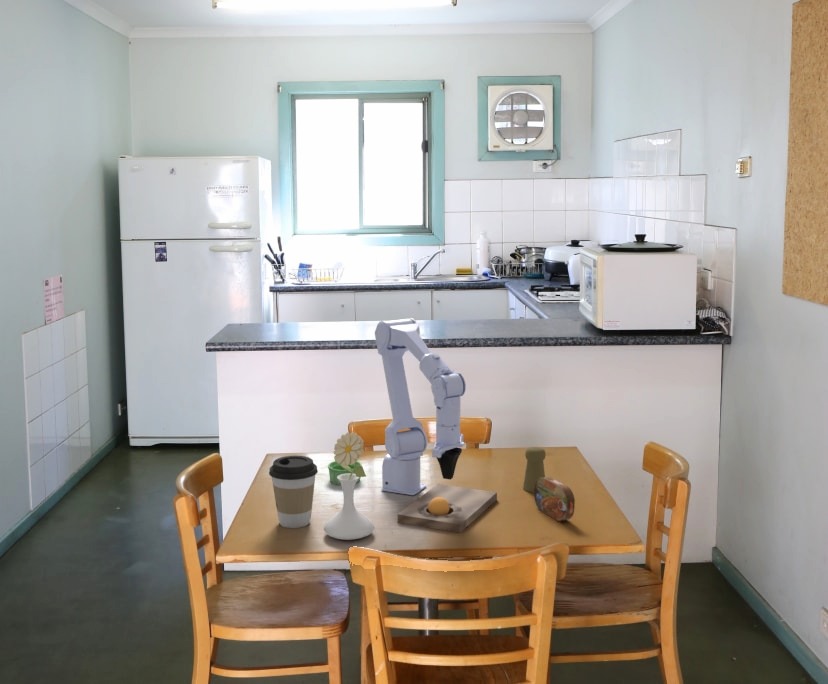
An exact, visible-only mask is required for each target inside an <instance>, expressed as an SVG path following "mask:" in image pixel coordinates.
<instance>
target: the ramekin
mask: <svg viewBox="0 0 828 684" xmlns="http://www.w3.org/2000/svg"><path fill="white" fill-rule="evenodd" d="M360 465H361V466H362V467H363V464H362V462H360V461H358V460H357V462H356V467H357V466H360ZM348 466H349V467H350V468H351V471H353V469H354V467H355V463H354V464H352V465H350V464H349V465H348ZM327 469H328V474H329V482H331V483H332V484H335V485H339V486H342V485H341V483H340V481H339V480H338V479H337V476H339V475H341V474H348V473H350V474H351V473H352V472H349V471H348V470H346V469H344V468H343V467H342V466H341V465H340V463H339V464H338V463H337V461H335V460H334V461H331V462H330V463H328V464H327ZM353 474H355V470H354V472H353ZM360 481H361V477H359V479H358V480H357V482H356V484H357V483H358V482H360Z"/></svg>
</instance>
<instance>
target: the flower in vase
mask: <svg viewBox="0 0 828 684" xmlns="http://www.w3.org/2000/svg"><path fill="white" fill-rule="evenodd" d="M364 445H365V444H364V439H362V437H361V436H360V435H358V433H356V432H354V431H352V432H350V433H349V432H346V433H345V434H341V436H340V438H337V440H336V443H335V444H334V450H333V455H334V456H333V458H334V459H333V460H334V461H337V463H338V464H339V463H340V465H341V466H342V467H343V468H344V469H346V470H348V471H349V472H352V473H351V474H350V473H348V474H341V475H339V476H337V479H338V480H339V481H340V483H341V485H340V486H341V488H342V492H343V493H342V494H343V495H342V496H343V506H342V508H341V509H340V510H339V511H338V512H337V513H335V514H334V515H333V516H331V517H330V518H329V519H328V520H327V522H326V523H325V525H324V527H323V531H324V532H325V534H326V535H328V537H331V538H334V539H337V540H345V541H352V540H358V539H362V538H365V537H368V536H369V535H371V534H372V533H373V531H374V530H375V526H374V523H373V521H372V520H370V519H369V517H367V516H366V515H365V514H363V513H362V512H360V511H359V510H358V509H357V508H356V506H355V503H354V494H355V489H356V488H355V487H356V484H357V483H358V482H357V480H358V479H359V477H360V478H364V477H367V475H366V473H365V469H364V468H363V465H362V466H361V465H360V466H357V467H356V462H357V461H358V459H360V458H361V455H362V454H363V453H364V451H365V450H364ZM354 463H355V467H354V469H353V471H351V468H350V467H349V466H348V465H349V464H350V465H352V464H354ZM354 470H355V474H353V472H354ZM356 482H357V483H356Z"/></svg>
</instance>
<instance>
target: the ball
mask: <svg viewBox="0 0 828 684" xmlns="http://www.w3.org/2000/svg"><path fill="white" fill-rule="evenodd" d="M428 509H429V512H430V514H433V515H447V514H448V512H449V503H448V502H447V500H446V499H444V498H442V497H436V498H434V499H432V500H431V501H430V503H429V506H428Z"/></svg>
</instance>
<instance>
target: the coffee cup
mask: <svg viewBox="0 0 828 684" xmlns="http://www.w3.org/2000/svg"><path fill="white" fill-rule="evenodd" d="M318 472H319V471H318V466H317V464H315V463H314V459H312V458H311V457H309V456H306V455H305V456H304V455H287V456H286V455H285V456H282V457H278V458H277V459H275V460H274V461H273V463H272V465H271V466H270V467H269V472H268V475H269V476H270V477H271V482H272V488H273V494H274V499H275V506H276V513H277V517H278V521H279V525H280V526H281V527H283V528H286V529H287V528H288V529H298V528H304V527H307V526H308V525H309V524H310V523H311V519H312V510H313V503H314V502H313V501H314V490H315V481H316V475H317V474H318Z"/></svg>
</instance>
